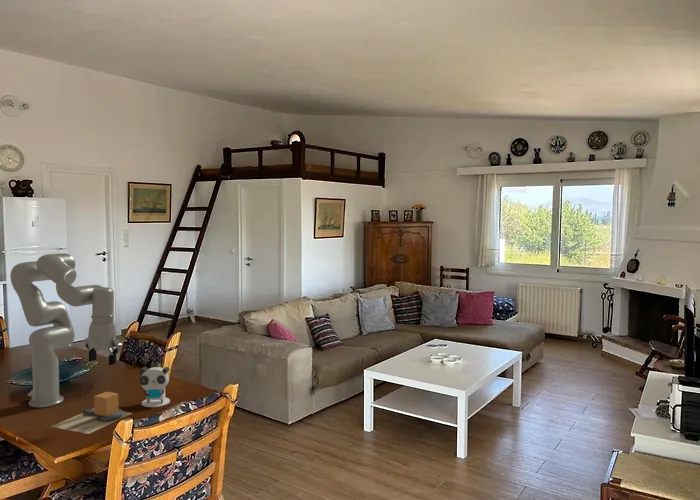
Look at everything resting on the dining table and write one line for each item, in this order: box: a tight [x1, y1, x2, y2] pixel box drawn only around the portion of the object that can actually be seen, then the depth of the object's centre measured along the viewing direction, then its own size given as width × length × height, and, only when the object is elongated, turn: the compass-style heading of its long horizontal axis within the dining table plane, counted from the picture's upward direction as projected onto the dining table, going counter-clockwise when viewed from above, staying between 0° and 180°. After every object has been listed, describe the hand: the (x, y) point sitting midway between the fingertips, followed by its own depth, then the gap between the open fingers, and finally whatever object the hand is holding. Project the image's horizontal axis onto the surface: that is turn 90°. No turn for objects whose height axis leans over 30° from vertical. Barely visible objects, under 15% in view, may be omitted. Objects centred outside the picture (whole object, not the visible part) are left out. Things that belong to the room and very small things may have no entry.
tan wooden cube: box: [93, 391, 120, 416], centre depth 205 cm, size 6×6×7 cm
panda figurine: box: [138, 366, 171, 408], centre depth 225 cm, size 12×11×15 cm
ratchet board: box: [51, 407, 133, 435], centre depth 203 cm, size 18×22×8 cm
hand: (102, 362), depth 207 cm, fingers open, 9 cm apart
